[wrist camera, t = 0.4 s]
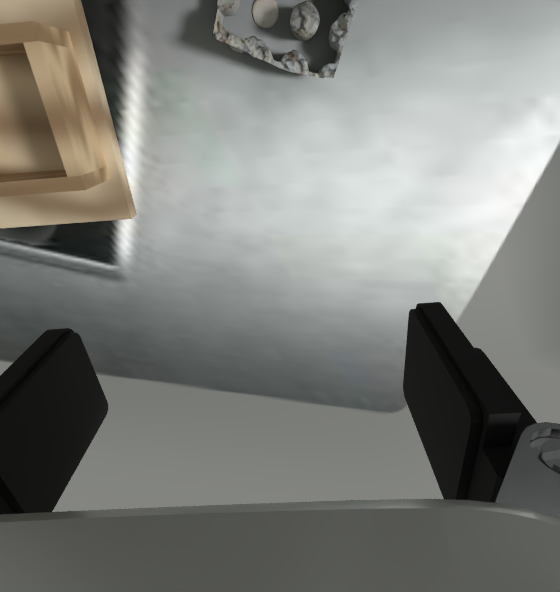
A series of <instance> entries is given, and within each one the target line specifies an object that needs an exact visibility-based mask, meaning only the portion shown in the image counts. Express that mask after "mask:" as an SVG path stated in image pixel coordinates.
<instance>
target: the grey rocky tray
mask: <svg viewBox="0 0 560 592" xmlns="http://www.w3.org/2000/svg"><path fill="white" fill-rule="evenodd" d="M344 1H345V3H346V4H347V5H349V10H348V12H345V13H342V14H341V15H340V16H339V17H338V19H337V20H336V21H335V22H334V23H333V25H332V26H331V28H330V30H329V33H328V41H329V45H330V47H331V48H332V49H333V50H334V51H336V52H337V56H336V59H335V62H334V63H329V64H327V65H324V66H323V67H322V68H321V70H320V71H319V72H318V73H312V72H310V71H309V68H308V64H307V61H306V59H305V57H304V56H303V55H302V54H301V53H299V51H298V50H292V51H291V52H288V53H287V54H285V55H284V56H283V58H282V59H281V61H280V62H277V61H275V60H274V59H273V57H272V54H271V51H270V49H269V48H268V47H267V46H266V44H265V43H264V41H263V40H259V39H257V38H256V37H255V36H251V37H248V38H246V39H243V38H240V37H238V36H236V35H234V34H232V33H230V32H229V31H227V30H226V29H225V28H224V27H223V26H222V23H223V18H224V16H231V15H233V14H234V13H235V12H236V11H237V10H238V8H239V4H240V0H218V3H217V7H218V10H217V14H216V20H215V25H214V31H213V38H215V39H217V40H219V41H221V42H224V43H227V44H229V45H230V47H231V49H232V50H235V51H237V52H239V53H242V54H243V52H244V51H245V52H247V53H249V54H250V55H251V56H253V57H255V58H258V59H261V60H264V61H266V62H268V63H270V64H272V65H274V66H276V67H278V68H281V69H283V70H286V71H289V72H293V73H299V74H304V75H309V76H316V77H319V78H324V77H330V78H333V77H334V74H335V71H336V68H337V66H338V63H339V59H340V56H341V51H342V48H343V46H344V43H345V40H346V36H347V32H348V30H349V27H350V23H351V20H352V17H353V13H354V12H355V8H356V4H357V1H358V0H344ZM252 14H253V19H254V21H255V22H256V24H257V25H258V26H260V27H261V28H265V29H266V28H270V27H272V26H273V25H275V23H276V22H277V20H278V17H279V9H278V5H277V3H276V2H275V0H255V2H254V4H253V7H252ZM319 22H320V18H319V14H318V10H317V9H316V7H315V6H314V5H313V4H312V3H310V2H308V1H305V2H303V3H300V4H298V5H296V6H295V7H294V8H293V10H292V12H291V17H290V25H291V31H292V33H293V35H294V36H295V37H296V38H297V39H299V40H301V41H306V40H309V39H311V38H312V37H313V36H314V35H315V33H317V32H316V31H317V29H318V26H319ZM315 38H316V37H315Z"/></svg>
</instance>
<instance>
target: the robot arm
mask: <svg viewBox="0 0 560 592" xmlns="http://www.w3.org/2000/svg"><path fill="white" fill-rule="evenodd" d="M403 390H404V396H405V399H406V402H407V404H408V407H409V409H410V412H411V415H412V417H413V420H414V422H415V425H416V428H417V430H418V433H419V435H420V438H421V441H422V443H423V446H424V448H425V451H426V454H427V456H428V459H429V461H430V464H431V467H432V469H433V472H434V474H435V477H436V479H437V482H438V485H439V487H440V490H441V493H442V495H443V497H444V499H397V500H348V501H318V502H289V503H261V504H234V505H208V506H185V507H184V506H183V507H159V508H137V509H135V508H134V509H112V510H111V509H110V510H89V511H67V512H52V511H53V509H54V507H55V506H56V504H57V502H58V500H59V498H60V497H61V495H62V493H63V491H64V490H65V488H66V486H67V484H68V482H69V481H70V479H71V477H72V475H73V474H74V472H75V470H76V468H77V466H78V465H79V463H80V461H81V459H82V457H83V456H84V454H85V452H86V450H87V449H88V447H89V445H90V443H91V441H92V440H93V438H94V436H95V434H96V433H97V431H98V429H99V427H100V425H101V424H102V422H103V420H104V418H105V417H106V414H107V411H108V403H107V400H106V398H105V395H104V393H103V390H102V388H101V385H100V383H99V381H98V378H97V376H96V373H95V371H94V369H93V366H92V364H91V361H90V359H89V356H88V354H87V352H86V349H85V347H84V344H83V342H82V340H81V337H80V336H79V334H77V333H74V331H73V330H72V329H69V328H65V329H51V330H47V331H45V332H44V333H43V334H42V335H41V336H40V337H39V338H38V339H37V340H36V341H35V342H34V343H33V344H32V345H31V346H30V347H29V348H28V349H27V350H26V351H25V352H24V353H23V354H22V355H21V356H20V357H19V358H18V359H17V360H16V361H15V362H14V363H13V364H12V365H11V366H10V367H9V368H8V369H7V370H6V371H5V372H4V373H3V374H2V375H1V376H0V592H560V424H557V423H548V422H544V423H537V422H536V421H535V420H534V418H533V417H532V416H531V414H530V413H529V412H528V410H527V409H526V408H525V406H524V405H523V404H522V403H521V401H520V400H519V399H518V397H517V396H516V394H515V393H514V392H513V390H512V389H511V388H510V386H509V385H508V384H507V382H506V381H505V380H504V378H503V377H502V376H501V375H500V373H499V372H498V371H497V369H496V368H495V367H494V365H493V364H492V363H491V361H490V360H489V359H488V357H487V356H486V355H485V353H484V352H483V351H482V350H481V349H479V348H474V347H473V346H472V345H471V343H470V342H469V341H468V339H467V338H466V337H465V335H464V334H463V333H462V331H461V330H460V329H459V327H458V326H457V324H456V323H455V321H454V320H453V319H452V317H451V316H450V315H449V313H448V312H447V310H446V309H445V308H444V306H443V305H442V304H441V303H440V302H434V303H420V304H417V306H416V309H411V310H410V312H409V320H408V332H407V344H406V357H405V369H404V381H403Z"/></svg>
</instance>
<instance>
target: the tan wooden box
mask: <svg viewBox="0 0 560 592" xmlns="http://www.w3.org/2000/svg"><path fill="white" fill-rule="evenodd" d="M136 215H137V214H136V211H135V207H134V203H133V199H132V195H131V191H130V187H129V184H128V180H127V176H126V172H125V168H124V164H123V160H122V157H121V153H120V149H119V145H118V141H117V137H116V134H115V130H114V126H113V122H112V118H111V114H110V110H109V107H108V103H107V99H106V95H105V91H104V87H103V84H102V80H101V76H100V72H99V68H98V64H97V60H96V57H95V53H94V49H93V45H92V41H91V37H90V33H89V30H88V26H87V22H86V18H85V14H84V10H83V7H82V3H81V0H0V228H12V227H26V226H39V225H53V224H66V223H80V222H94V221H107V220H121V219H132V218H133V217H134V216H136Z"/></svg>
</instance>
